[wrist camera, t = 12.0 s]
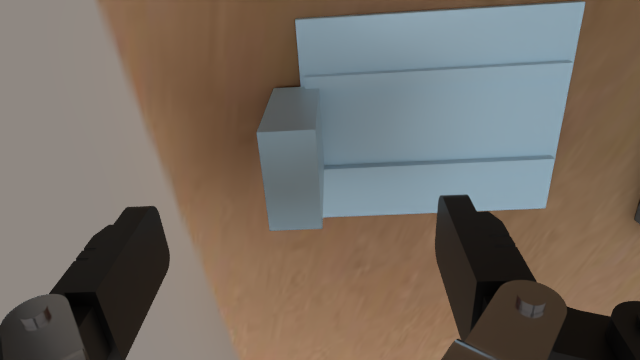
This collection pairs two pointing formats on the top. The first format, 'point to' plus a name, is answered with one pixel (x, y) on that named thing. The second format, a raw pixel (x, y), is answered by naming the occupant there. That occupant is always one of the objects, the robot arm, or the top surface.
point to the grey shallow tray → (638, 214)
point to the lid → (419, 112)
